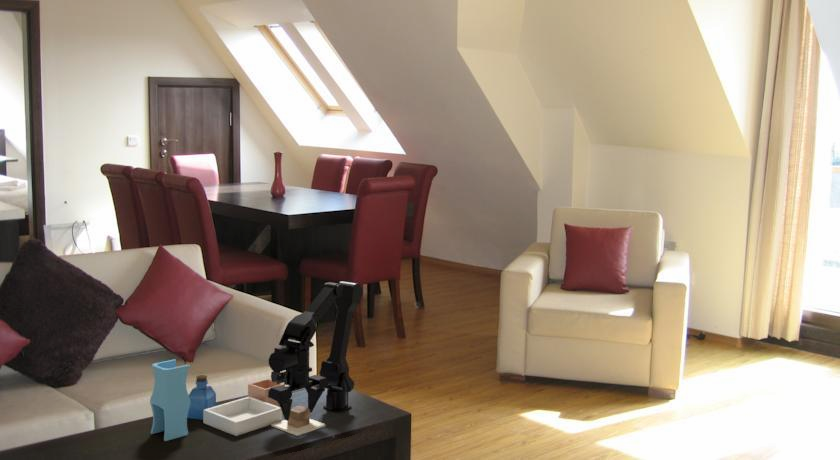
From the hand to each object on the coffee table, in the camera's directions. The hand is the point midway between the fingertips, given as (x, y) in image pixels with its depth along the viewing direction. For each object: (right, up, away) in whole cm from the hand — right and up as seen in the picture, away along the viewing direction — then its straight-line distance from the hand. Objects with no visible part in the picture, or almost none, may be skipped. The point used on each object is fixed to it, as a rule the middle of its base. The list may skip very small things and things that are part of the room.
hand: (298, 416), depth 254 cm
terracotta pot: (-12, 0, +17) cm, 21 cm away
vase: (-35, -3, -9) cm, 36 cm away
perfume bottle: (-30, -2, +7) cm, 31 cm away
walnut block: (0, -2, 0) cm, 2 cm away
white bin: (-17, -2, +2) cm, 17 cm away
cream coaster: (0, -3, 0) cm, 3 cm away
